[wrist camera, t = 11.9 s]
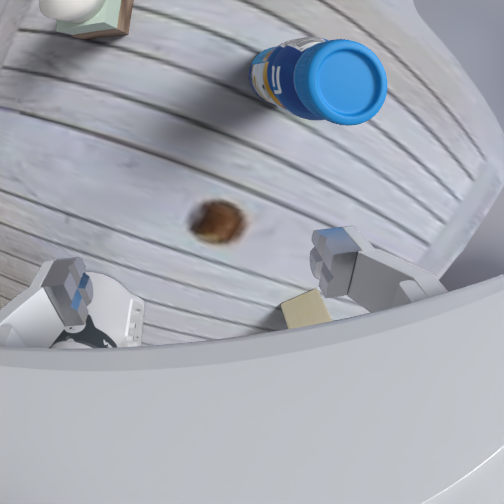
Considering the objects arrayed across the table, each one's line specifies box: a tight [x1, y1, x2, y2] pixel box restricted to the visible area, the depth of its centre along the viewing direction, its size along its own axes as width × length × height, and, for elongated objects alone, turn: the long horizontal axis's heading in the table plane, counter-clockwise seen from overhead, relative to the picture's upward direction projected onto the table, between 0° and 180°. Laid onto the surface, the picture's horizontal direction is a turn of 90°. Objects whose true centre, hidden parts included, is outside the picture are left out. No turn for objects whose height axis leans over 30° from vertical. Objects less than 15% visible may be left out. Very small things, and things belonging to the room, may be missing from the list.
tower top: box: [56, 0, 121, 35], centre depth 18 cm, size 6×6×5 cm
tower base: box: [72, 0, 133, 40], centre depth 22 cm, size 6×6×5 cm
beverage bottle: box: [249, 37, 387, 125], centre depth 25 cm, size 8×8×20 cm
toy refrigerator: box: [281, 289, 332, 329], centre depth 50 cm, size 8×7×21 cm
